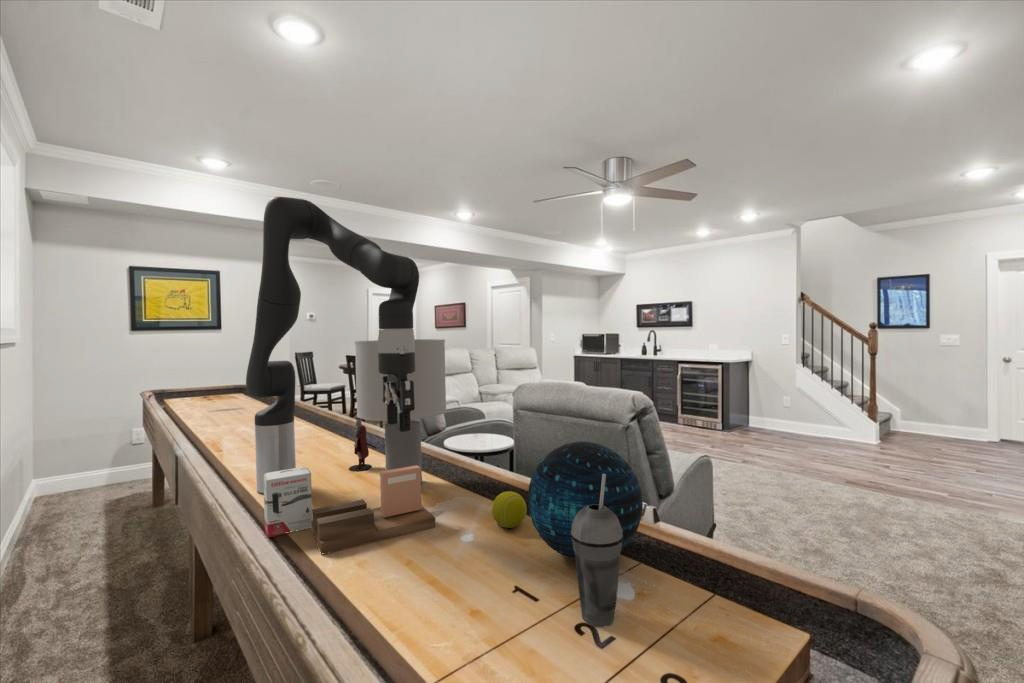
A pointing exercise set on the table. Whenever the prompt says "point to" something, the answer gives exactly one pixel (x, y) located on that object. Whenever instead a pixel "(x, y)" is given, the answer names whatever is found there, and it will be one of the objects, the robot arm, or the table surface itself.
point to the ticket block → (362, 525)
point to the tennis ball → (509, 509)
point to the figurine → (361, 447)
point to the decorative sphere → (581, 492)
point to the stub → (400, 490)
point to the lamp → (427, 400)
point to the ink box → (287, 501)
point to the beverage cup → (597, 560)
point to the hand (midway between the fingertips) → (398, 427)
